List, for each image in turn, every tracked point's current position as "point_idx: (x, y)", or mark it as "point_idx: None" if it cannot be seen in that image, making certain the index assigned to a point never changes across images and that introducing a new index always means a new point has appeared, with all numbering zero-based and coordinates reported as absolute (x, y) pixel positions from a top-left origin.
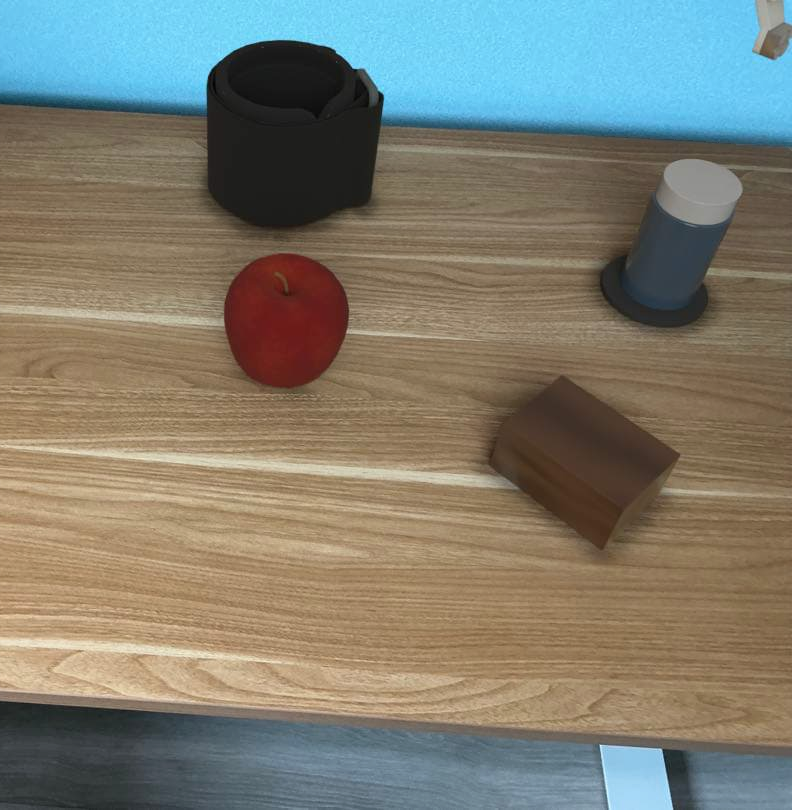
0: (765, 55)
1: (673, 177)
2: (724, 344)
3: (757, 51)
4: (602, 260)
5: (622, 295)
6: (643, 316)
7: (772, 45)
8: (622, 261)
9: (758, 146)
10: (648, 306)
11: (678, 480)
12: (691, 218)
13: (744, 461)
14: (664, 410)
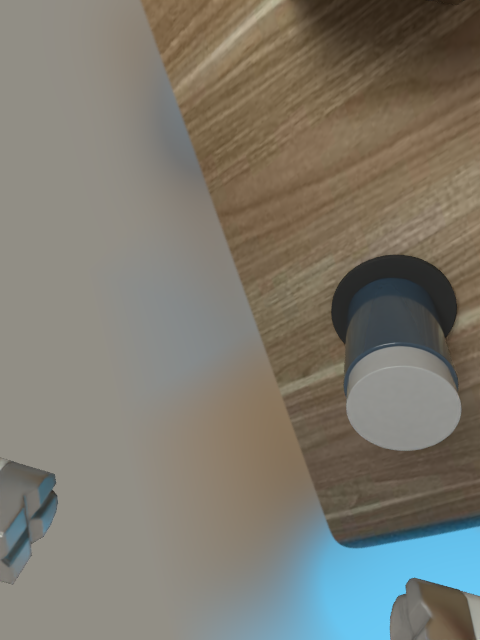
0: (443, 589)
1: (444, 401)
2: (297, 274)
3: (473, 599)
4: (461, 329)
5: (423, 280)
6: (390, 260)
7: (442, 626)
8: None
9: (355, 538)
10: (389, 278)
11: (270, 28)
12: (393, 350)
13: (222, 115)
14: (321, 133)
